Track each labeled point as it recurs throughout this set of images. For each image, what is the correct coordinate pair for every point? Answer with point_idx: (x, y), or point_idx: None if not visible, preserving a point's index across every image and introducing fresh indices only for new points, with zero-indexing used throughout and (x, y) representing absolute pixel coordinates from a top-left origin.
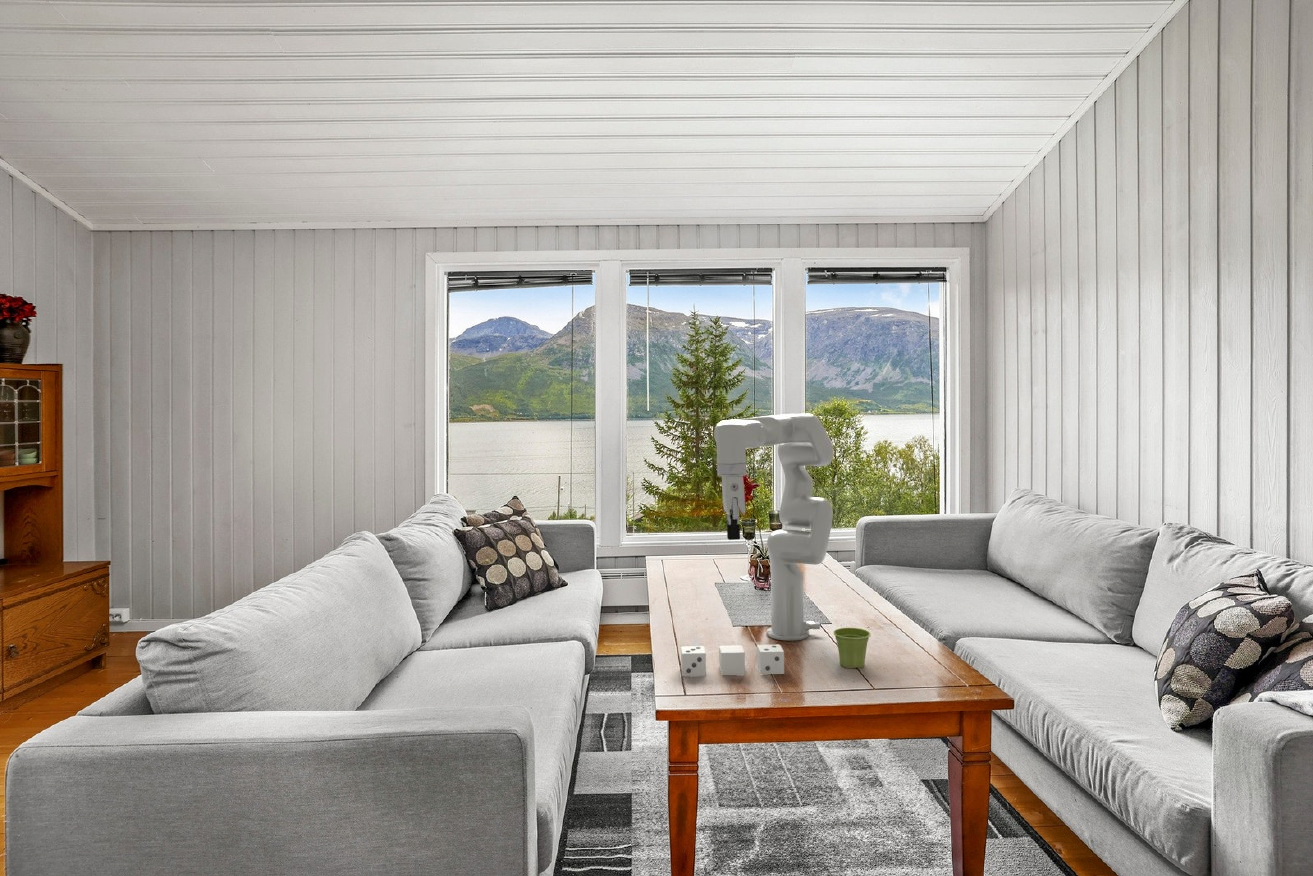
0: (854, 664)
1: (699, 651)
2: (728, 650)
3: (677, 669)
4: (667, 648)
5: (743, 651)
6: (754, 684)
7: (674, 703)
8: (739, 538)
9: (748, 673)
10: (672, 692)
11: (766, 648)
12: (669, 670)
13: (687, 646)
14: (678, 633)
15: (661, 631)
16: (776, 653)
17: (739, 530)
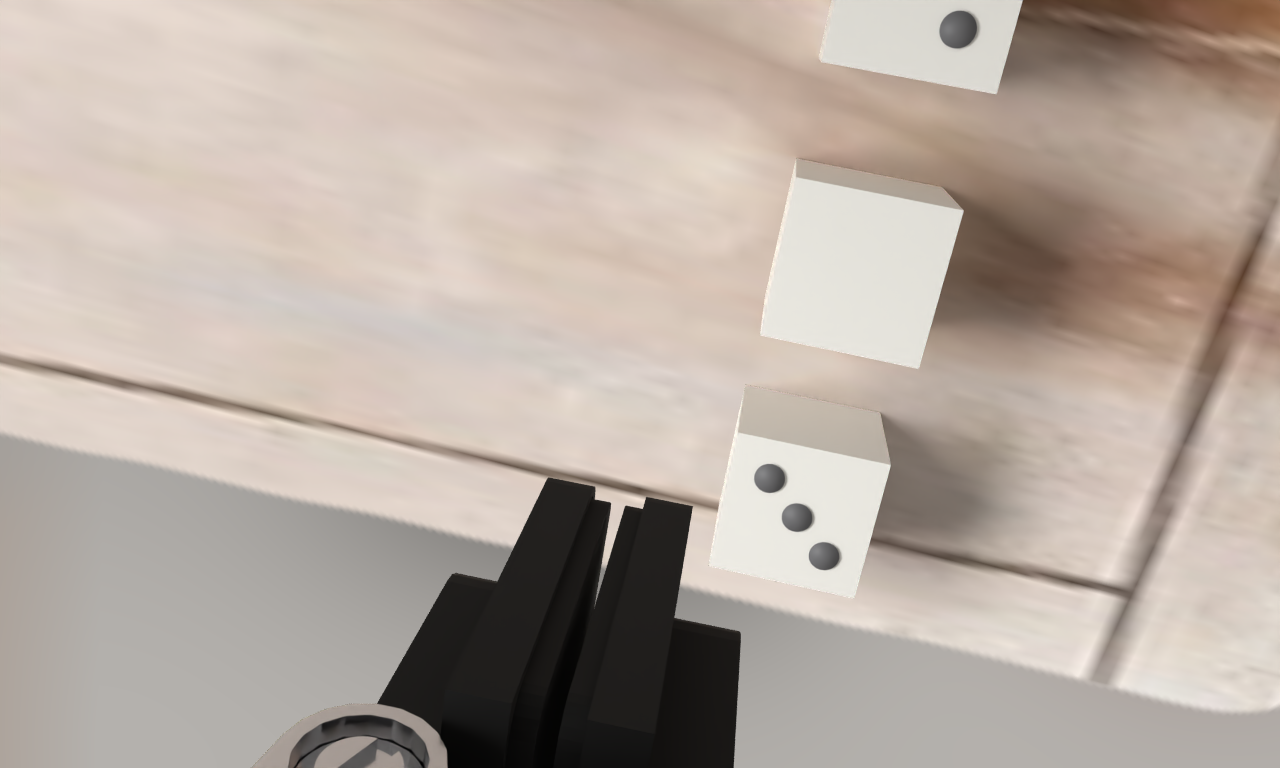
0: None
1: (843, 490)
2: (883, 306)
3: None
4: (350, 483)
5: (941, 212)
6: (1119, 181)
7: (1225, 671)
8: (690, 518)
9: (915, 154)
10: (1067, 640)
11: (927, 17)
12: None
13: (719, 530)
14: (69, 350)
15: (24, 435)
16: None
17: (669, 622)
